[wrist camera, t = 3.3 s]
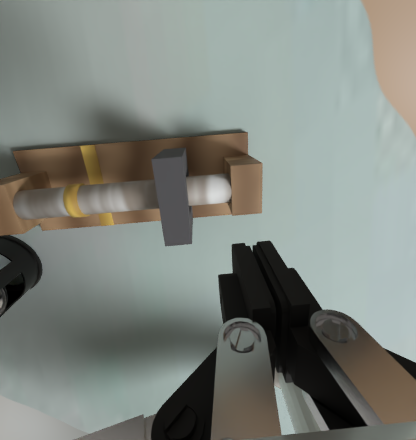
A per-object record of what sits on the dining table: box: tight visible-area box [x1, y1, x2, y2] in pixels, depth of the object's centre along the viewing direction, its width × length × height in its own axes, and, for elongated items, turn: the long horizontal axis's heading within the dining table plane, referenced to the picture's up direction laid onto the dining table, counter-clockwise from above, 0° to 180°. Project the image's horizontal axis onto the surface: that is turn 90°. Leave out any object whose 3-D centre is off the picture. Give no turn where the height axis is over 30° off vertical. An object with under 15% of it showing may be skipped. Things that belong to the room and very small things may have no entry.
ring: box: [151, 148, 193, 246], centre depth 24 cm, size 2×8×8 cm, turn 4°
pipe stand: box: [0, 132, 262, 236], centre depth 26 cm, size 27×10×8 cm, turn 94°
